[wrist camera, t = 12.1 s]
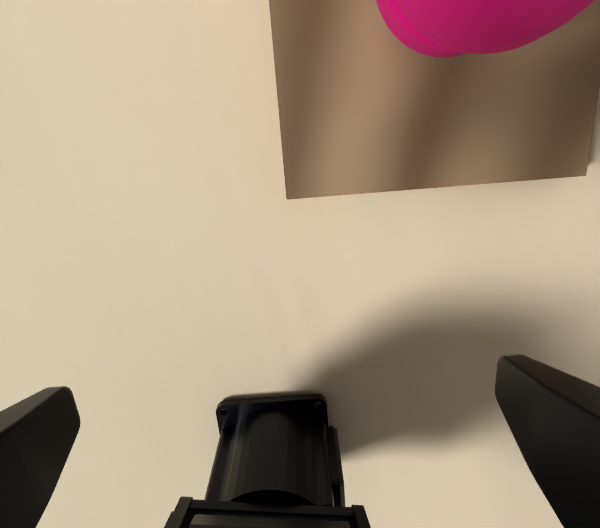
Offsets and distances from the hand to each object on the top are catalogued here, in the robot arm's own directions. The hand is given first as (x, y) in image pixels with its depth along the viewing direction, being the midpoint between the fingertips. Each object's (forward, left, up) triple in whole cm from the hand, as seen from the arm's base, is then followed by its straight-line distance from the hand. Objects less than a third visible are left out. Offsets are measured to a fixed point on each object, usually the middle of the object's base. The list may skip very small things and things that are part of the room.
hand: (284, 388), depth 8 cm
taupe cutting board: (+7, +9, -13) cm, 17 cm away
